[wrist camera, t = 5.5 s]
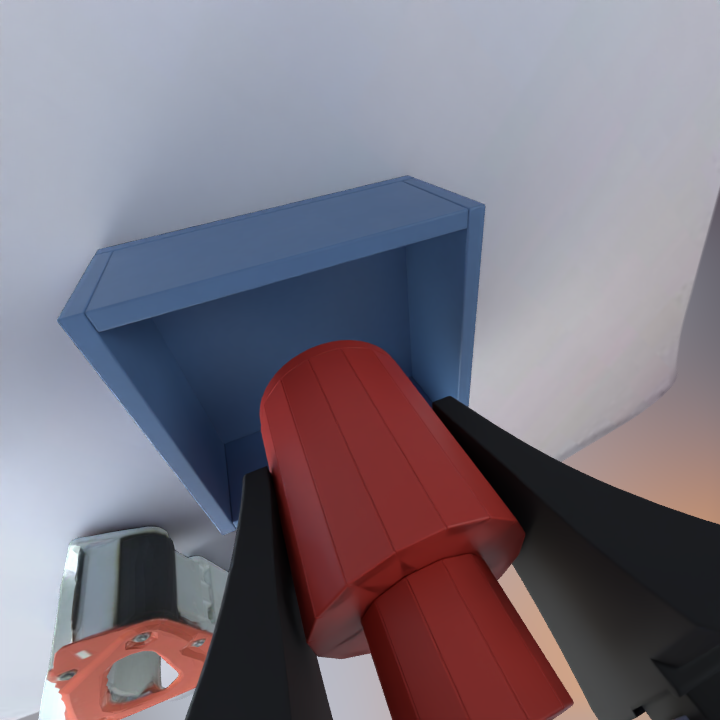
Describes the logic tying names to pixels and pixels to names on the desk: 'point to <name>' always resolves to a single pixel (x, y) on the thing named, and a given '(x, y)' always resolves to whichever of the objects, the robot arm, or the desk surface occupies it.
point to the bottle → (399, 541)
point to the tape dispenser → (128, 625)
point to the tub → (276, 316)
